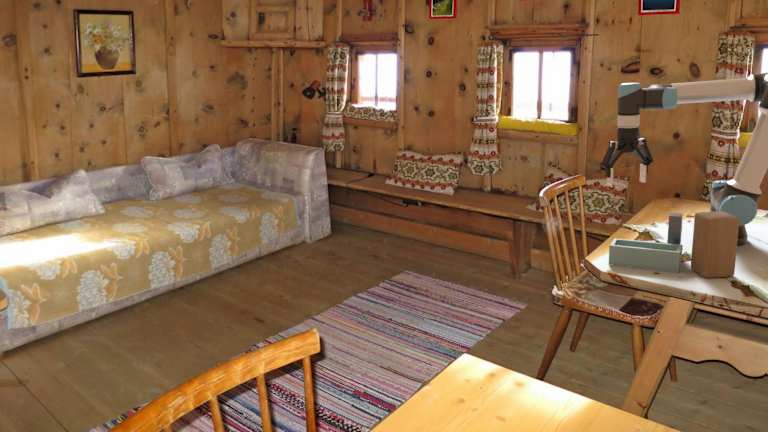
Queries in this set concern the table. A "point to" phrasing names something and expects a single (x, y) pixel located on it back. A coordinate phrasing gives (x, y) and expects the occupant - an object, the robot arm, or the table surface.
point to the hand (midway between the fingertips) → (626, 184)
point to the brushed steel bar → (675, 228)
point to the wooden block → (714, 244)
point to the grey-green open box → (646, 255)
